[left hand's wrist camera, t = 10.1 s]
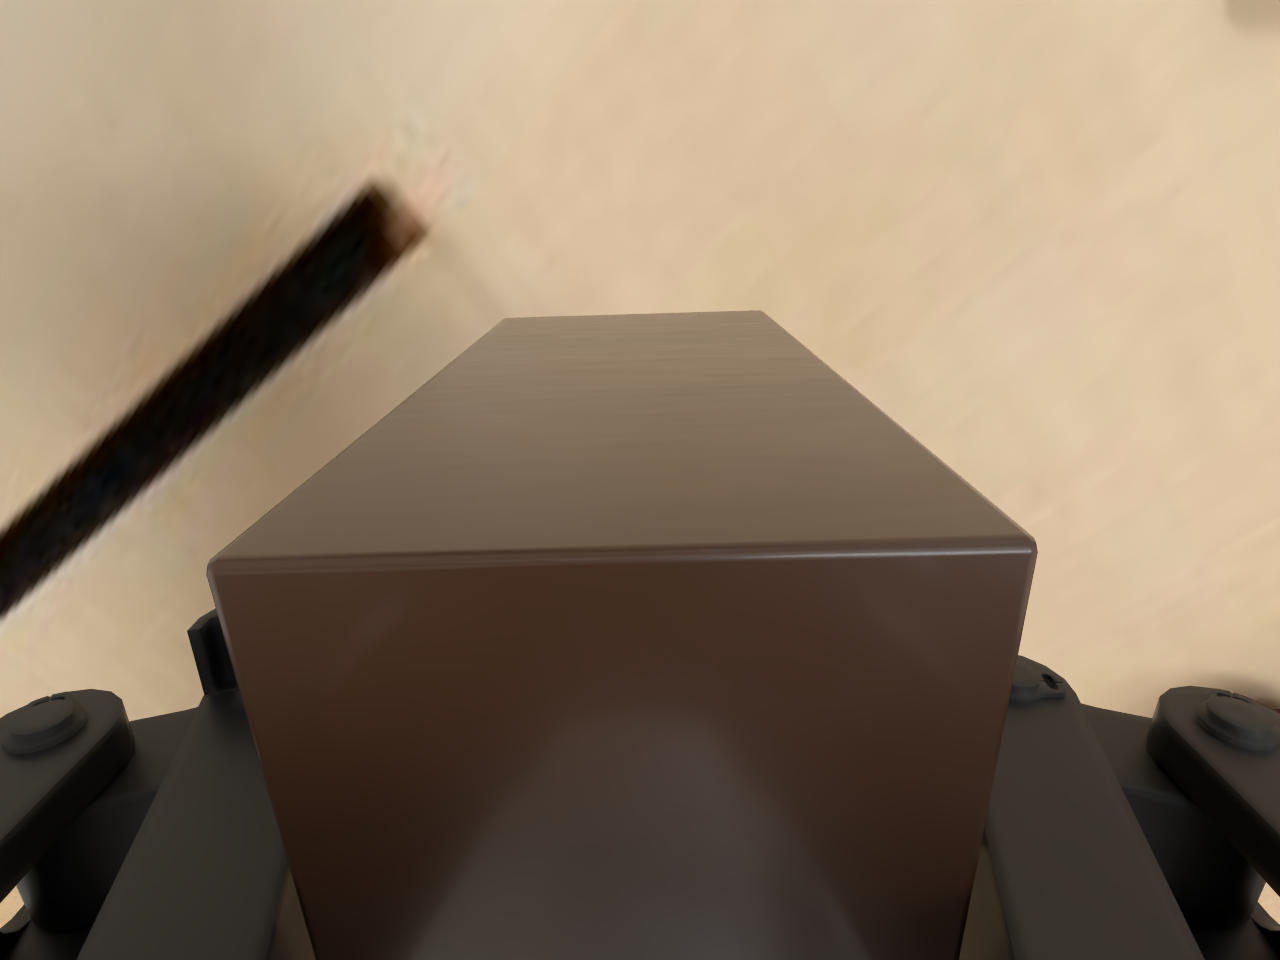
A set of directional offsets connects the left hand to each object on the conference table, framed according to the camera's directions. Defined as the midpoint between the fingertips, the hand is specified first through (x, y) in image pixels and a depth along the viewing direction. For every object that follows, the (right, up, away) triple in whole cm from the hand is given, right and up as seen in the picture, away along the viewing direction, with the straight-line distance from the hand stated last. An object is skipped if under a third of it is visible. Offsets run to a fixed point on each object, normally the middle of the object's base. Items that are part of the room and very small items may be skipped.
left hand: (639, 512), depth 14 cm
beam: (0, -9, +4) cm, 10 cm away
